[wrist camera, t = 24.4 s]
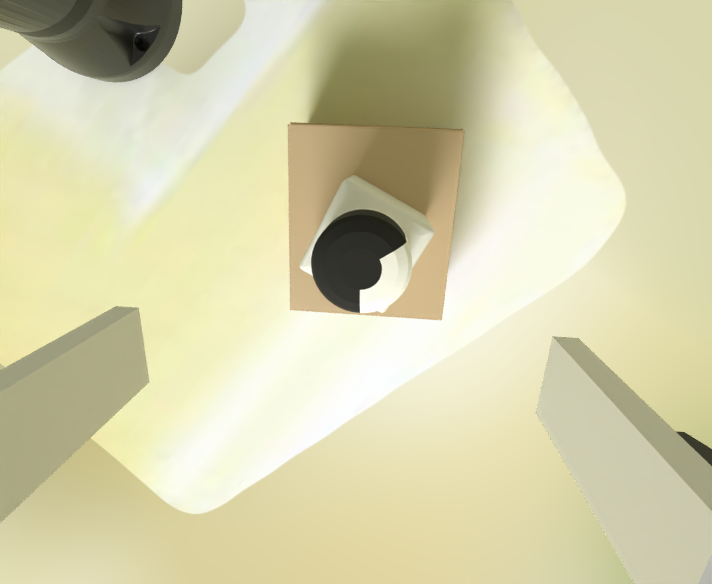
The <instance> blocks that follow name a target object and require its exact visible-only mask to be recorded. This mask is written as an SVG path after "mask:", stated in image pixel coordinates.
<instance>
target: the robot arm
mask: <svg viewBox="0 0 712 584" xmlns="http://www.w3.org/2000/svg"><path fill="white" fill-rule="evenodd" d="M181 15H182V0H0V27H1V28H4V29H8V30H11V31H14V32H17V33H19V34H20V35H21V36H23V37H24V38H25V39H27V40H28V41H29V42H30V43H32V44H33V45H34V46H36V47H37V48H38V49H40V50H41V51H42V52H44V53H45V54H46V55H48V56H49V57H50V58H51V59H53V60H54V61H56V62H57V63H58V64H60V65H62V66H63V67H65V68H67V69H69V70H71V71H73V72H76V73H78V74H81V75H84V76H87V77H91V78H95V79H99V80H103V81H108V82H126V81H131V80H134V79H137V78H140V77H142V76H144V75H146V74H148V73H149V72H151V71H152V70H154V69H155V68H156V67H157V66H158V65H159V64H160V63H161V62H162V61H163V60H164V58H165V57H166V56H167V54H168V53H169V51H170V49H171V48H172V46H173V44H174V41H175V39H176V36H177V34H178V30H179V26H180V21H181ZM148 383H149V377H148V370H147V363H146V356H145V349H144V342H143V335H142V328H141V321H140V314H139V308H132V307H118V306H116V307H114V308H112V309H110V310H109V311H107V312H105V313H103V314H101V315H99V316H98V317H96V318H94V319H92V320H90V321H89V322H87V323H85V324H83V325H81V326H80V327H78V328H76V329H74V330H72V331H71V332H69V333H67V334H65V335H63V336H62V337H60V338H58V339H56V340H54V341H53V342H51V343H49V344H47V345H45V346H43V347H42V348H40V349H38V350H36V351H34V352H33V353H31V354H29V355H27V356H25V357H24V358H22V359H20V360H18V361H16V362H15V363H13V364H11V365H9V366H7V367H6V368H4V369H2V370H0V523H1V522H2V521H3V520H4V519H5V518H6V517H7V516H8V515H9V514H10V513H11V512H12V511H14V509H16V507H18V506H19V505H20V504H21V503H22V502H23V501H24V500H25V499H26V498H27V497H28V496H29V495H30V494H31V493H33V492H34V491H35V490H36V489H37V488H38V487H39V486H40V485H41V484H42V483H43V482H44V481H45V480H46V479H47V478H48V477H49V476H50V475H52V474H53V473H54V472H55V471H56V470H57V469H58V468H59V467H60V466H61V465H62V464H63V463H64V462H65V461H66V460H67V459H68V458H69V457H71V456H72V454H74V453H75V452H76V451H77V450H78V449H79V448H80V447H81V446H82V445H83V444H84V443H85V442H86V441H87V440H88V439H90V438H91V437H92V436H93V435H94V434H95V433H96V432H97V431H98V430H99V429H100V428H101V427H102V426H103V425H104V424H105V423H106V422H108V421H109V420H110V419H111V418H112V417H113V416H114V415H115V414H116V413H117V412H118V411H119V410H120V409H121V408H122V407H123V406H124V405H125V404H127V403H128V402H129V401H130V400H131V399H132V398H133V397H134V396H135V395H136V394H137V393H138V392H139V391H140V390H141V389H142V388H143V387H144V386H146V385H147V384H148ZM536 414H537V416H538V417H539V419H540V421H541V423H542V425H543V426H544V428H545V430H546V432H547V433H548V435H549V437H550V439H551V440H552V442H553V444H554V446H555V447H556V449H557V451H558V453H559V454H560V456H561V458H562V459H563V461H564V463H565V465H566V466H567V468H568V470H569V471H570V473H571V475H572V477H573V479H574V480H575V482H576V484H577V486H578V487H579V489H580V491H581V493H582V494H583V496H584V498H585V500H586V501H587V503H588V505H589V506H590V508H591V510H592V512H593V514H594V515H595V517H596V519H597V520H598V522H599V524H600V526H601V527H602V529H603V531H604V533H605V534H606V536H607V538H608V540H609V541H610V543H611V545H612V547H613V548H614V550H615V552H616V554H617V555H618V557H619V559H620V560H621V562H622V564H623V566H624V567H625V569H626V571H627V573H628V574H629V576H630V578H631V580H632V581H633V583H634V584H712V449H710V448H709V447H708V446H706V445H704V444H703V443H701V442H699V441H698V440H696V439H695V438H693V437H691V436H690V435H688V434H686V433H685V432H676V431H674V430H673V429H672V428H671V427H670V426H669V425H668V424H667V423H666V422H665V421H664V420H663V419H662V418H661V417H660V416H659V415H658V414H657V413H656V412H655V411H654V410H652V409H651V407H649V406H648V405H647V404H646V403H645V402H644V401H643V400H642V399H641V398H640V397H639V396H638V395H637V394H636V393H635V392H634V391H633V390H632V389H631V388H630V387H628V385H627V384H626V383H624V382H623V381H622V380H621V379H620V378H619V377H618V376H617V375H616V374H615V373H614V372H613V371H612V370H611V369H610V368H609V367H608V366H607V365H605V363H604V362H603V361H602V360H600V359H599V358H598V357H597V356H596V355H595V354H594V353H593V352H592V351H591V350H590V349H589V348H588V347H587V346H586V345H585V344H584V343H583V342H582V341H581V340H580V339H579V338H567V337H552V342H551V347H550V351H549V356H548V360H547V364H546V369H545V374H544V378H543V382H542V387H541V391H540V396H539V401H538V405H537V410H536Z"/></svg>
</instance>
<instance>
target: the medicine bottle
mask: <svg viewBox="0 0 712 584" xmlns="http://www.w3.org/2000/svg"><path fill="white" fill-rule="evenodd" d="M433 235H434V229H433V227H432V226H431V224H430V222H429V221H428V219H427V218H426V216H425V215H424V214H422V213H421V212H419V211H417V210H415V209H414V208H412V207H410V206H409V205H407V204H405V203H403V202H402V201H400V200H398V199H396V198H395V197H393V196H391V195H389V194H388V193H386V192H384V191H383V190H381V189H379V188H377V187H376V186H374V185H372V184H370V183H369V182H367V181H365V180H363V179H362V178H360V177H358V176H356V175H353V176H351V177H349V178H347V179H345V180H344V181H343V182H342V183H341V185H340V187H339V189H338V191H337V193H336V195H335V197H334V199H333V201H332V202H331V204H330V206H329V208H328V210H327V212H326V214H325V216H324V218H323V220H322V222H321V224H320V226H319V228H318V229H317V231H316V233H315V235H314V237H313V239H312V241H311V243H310V245H309V247H308V249H307V251H306V253H305V255H304V256H303V258H302V260H301V262H300V268H301V269H302V270H303V271H305V272H307V273H309V274H311V275H312V276H313V278H314V281H315V283H316V285H317V287H318V289H319V290H320V292H321V293H322V294H323V296H324V297H325V298H326V299H327V300H328V301H330V302H331V303H332V304H334V305H335V306H337V307H339V308H341V309H344V310H346V311H350V312H355V313H369V312H375V311H379V312H381V313H383V312H385V311H386V310H387V308H388V307H389V305H391V304H392V303H394V302H395V301H396V300H397V299H398V298H399V297H400V296H401V295H402V294H403V292H404V291H405V289H406V287H407V285H408V283H409V280H410V277H411V273H412V269H413V267H414V265H415V264H416V262H417V261H418V259H419V257H420V256H421V254H422V253H423V251H424V249H425V248H426V246H427V245H428V243H429V241H430V240H431V238H432V237H433Z"/></svg>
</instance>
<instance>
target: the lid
mask: <svg viewBox="0 0 712 584" xmlns="http://www.w3.org/2000/svg"><path fill="white" fill-rule="evenodd" d="M464 132H465V131H440V130H415V129H391V128H366V127H341V126H317V125H292V124H288V170H289V253H290V310H299V311H313V312H328V313H343V314H358V315H372V316H387V317H402V318H417V319H431V320H442V314H443V306H444V298H445V289H446V281H447V273H448V264H449V256H450V248H451V240H452V231H453V223H454V215H455V207H456V198H457V190H458V182H459V174H460V165H461V157H462V149H463V140H464ZM353 175H356V176H358V177H360V178H362V179H363V180H365V181H367V182H369V183H370V184H372V185H374V186H376V187H377V188H379V189H381V190H383V191H384V192H386V193H388V194H389V195H391V196H393V197H395V198H396V199H398V200H400V201H402V202H403V203H405V204H407V205H409V206H410V207H412V208H414V209H415V210H417V211H419V212H421V213H422V214H424V215H425V216H426V218H427V219H428V221H429V222H430V224H431V226H432V227H433V229H434V235H433V237H432V238H431V240H430V241H429V243H428V245H427V246H426V248H425V249H424V251H423V253H422V254H421V256H420V257H419V259H418V261H417V262H416V264H415V265H414V267H413V269H412V273H411V277H410V280H409V283H408V285H407V287H406V289H405V291H404V292H403V294H402V295H401V296H400V297H399V298H398V299H397V300H396V301H395V302H394V303H392V304H391V305H389V307H388V308H387V310H386V311H385V312H383V313H381V312H379V311H375V312H369V313H355V312H350V311H346V310H344V309H341V308H339V307H337V306H335V305H334V304H332V303H331V302H330V301H328V300H327V299H326V298H325V297H324V296H323V294H322V293H321V292H320V290H319V289H318V287H317V285H316V283H315V281H314V278H313V276H312V275H311V274H309V273H307V272H305V271H303V270H302V269H301V268H300V262H301V260H302V258H303V256H304V255H305V253H306V251H307V249H308V247H309V245H310V243H311V241H312V239H313V237H314V235H315V233H316V231H317V229H318V228H319V226H320V224H321V222H322V220H323V218H324V216H325V214H326V212H327V210H328V208H329V206H330V204H331V202H332V201H333V199H334V197H335V195H336V193H337V191H338V189H339V187H340V185H341V183H342V182H343V181H344V180H345V179H347V178H349V177H351V176H353Z"/></svg>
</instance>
